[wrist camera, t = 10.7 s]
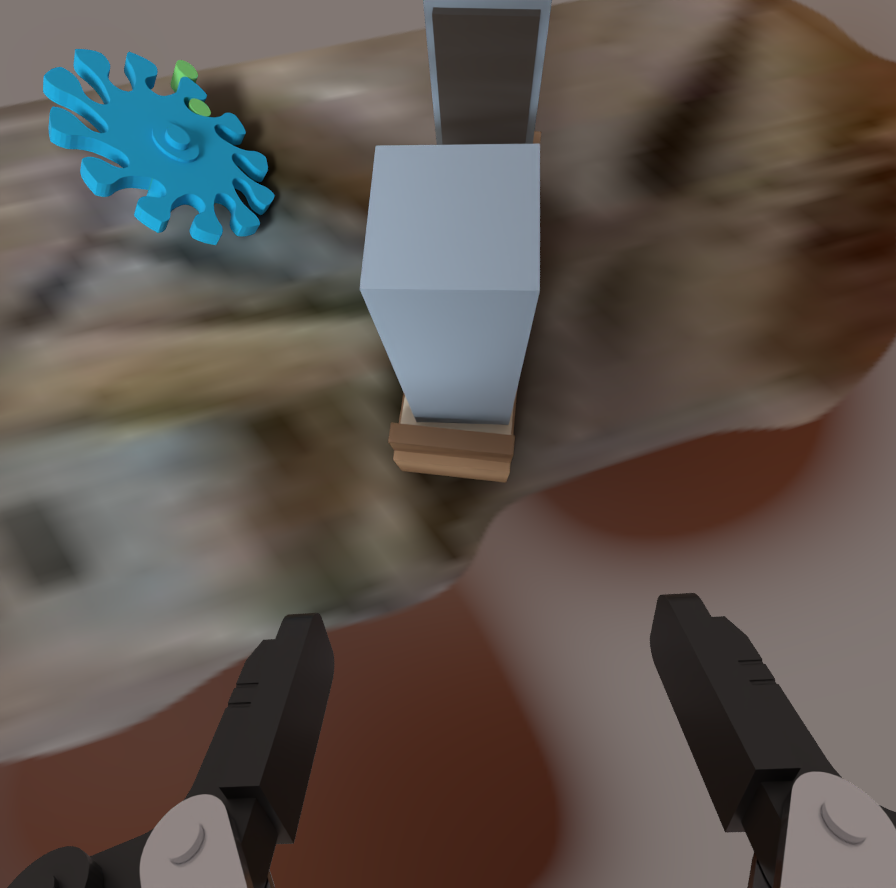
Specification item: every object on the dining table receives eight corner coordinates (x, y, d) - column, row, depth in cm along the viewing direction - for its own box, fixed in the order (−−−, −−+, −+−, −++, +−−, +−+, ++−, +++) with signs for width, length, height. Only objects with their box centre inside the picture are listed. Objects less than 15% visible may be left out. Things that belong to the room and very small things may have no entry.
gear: (265, 262, 24) (5, 134, 18) (227, 318, 28) (6, 230, 22) (291, 123, 28) (89, -19, 22) (255, 189, 32) (76, 85, 26)
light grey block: (416, 421, 20) (359, 289, 10) (422, 332, 21) (377, 136, 11) (508, 424, 20) (540, 291, 10) (510, 334, 21) (539, 133, 11)
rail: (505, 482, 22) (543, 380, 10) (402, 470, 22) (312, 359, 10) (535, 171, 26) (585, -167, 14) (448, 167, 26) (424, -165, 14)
